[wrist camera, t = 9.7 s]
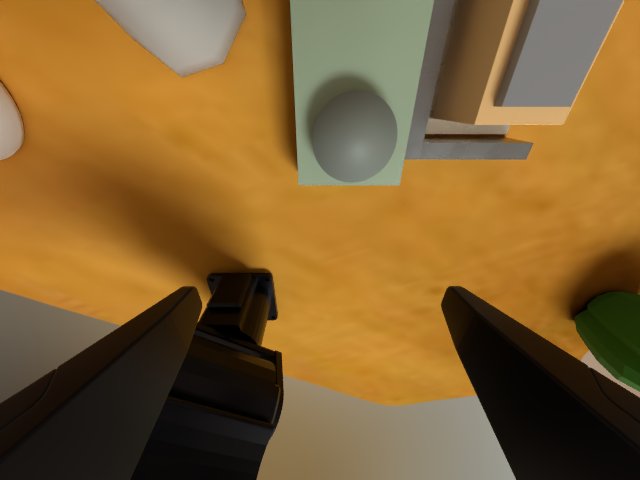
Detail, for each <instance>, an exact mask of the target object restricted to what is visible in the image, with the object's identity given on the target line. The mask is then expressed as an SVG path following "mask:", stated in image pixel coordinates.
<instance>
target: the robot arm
mask: <svg viewBox="0 0 640 480" xmlns="http://www.w3.org/2000/svg"><path fill="white" fill-rule="evenodd" d="M212 278H213V279H212ZM266 278H269V279H266ZM207 282H208V285H209V288H210V291H211V294H212V296H211V298H210V300H209V301H208V303H207V307H206V309H205V311H204V313H203V314H202V316H201V318H200V320H199V322H198V319H199V316H200V313H201V310H202V301H201V299H200V296H199V293H198V291H197V288H196V287H193V286H184V287H181V288H180V289H178V290H176V291H175V292H173V293H172V294H170V295H169V296H167V297H166V298H164V299H162V300H161V301H159V302H158V303H156V304H155V305H153V306H152V307H150V308H148V309H147V310H145V311H144V312H142V313H141V314H139V315H138V316H136V317H135V318H133V319H131V320H130V321H128V322H127V323H125V324H124V325H122V326H121V327H119V328H117V329H116V330H114V331H113V332H111V333H110V334H108V335H107V336H105V337H104V338H102V339H100V340H99V341H97V342H96V343H94V344H93V345H91V346H89V347H88V348H86V349H85V350H83V351H82V352H80V353H79V354H77V355H76V356H74V357H73V358H71V359H69V360H68V361H66V362H65V363H63V364H61V365H60V366H59V367H58V368H57V369H54V370H52V371H51V372H49V373H48V374H46V375H44V376H43V377H41V378H40V379H38V380H37V381H35V382H34V383H32V384H30V385H29V386H27V387H25V388H24V389H22V390H21V391H19V392H18V393H16V394H14V395H13V396H11V397H10V398H8V399H6V400H5V401H3V402H1V403H0V480H256V479H257V475H258V471H259V467H260V464H261V461H262V458H263V455H264V452H265V449H266V446H267V444H268V441H269V440H270V438H271V437H272V435H273V433H274V431H275V429H276V426H277V424H278V421H279V418H280V414H281V410H282V405H283V396H284V393H283V392H284V391H283V372H282V353H281V352H278V351H273V350H270V349H267V348H265V347H262V346H261V344H262V340H263V336H264V331H265V327H266V323H267V320H276V319H277V316H278V312H277V304H276V297H275V290H274V282H273V276H272V275H271V274H269V273H211V274H209V275H208V277H207ZM441 307H442V311H443V314H444V317H445V320H446V323H447V326H448V328H449V331H450V334H451V337H452V340H453V343H454V346H455V348H456V351H457V353H458V355H459V357H460V360H461V362H462V364H463V366H464V368H465V370H466V373H467V375H468V377H469V379H470V381H471V383H472V385H473V388H474V390H475V392H476V394H477V396H478V398H479V401H480V403H481V405H482V407H483V409H484V411H485V413H486V416H487V418H488V420H489V422H490V424H491V426H492V428H493V431H494V433H495V435H496V437H497V439H498V441H499V444H500V446H501V448H502V450H503V452H504V454H505V456H506V459H507V461H508V463H509V465H510V467H511V469H512V472H513V474H514V476H515V478H516V480H640V398H639V397H638V396H636V395H635V394H633V393H631V392H630V391H628V390H626V389H625V388H623V387H621V386H620V385H618V384H617V383H615V382H613V381H611V380H610V379H608V378H607V377H605V376H604V375H602V374H600V373H599V372H597V371H596V370H594V369H592V368H589V367H588V366H587V365H586V364H584V363H583V362H581V361H580V360H578V359H576V358H575V357H573V356H572V355H570V354H568V353H567V352H565V351H564V350H562V349H560V348H559V347H557V346H556V345H554V344H552V343H551V342H549V341H548V340H546V339H544V338H543V337H541V336H540V335H538V334H537V333H535V332H533V331H532V330H530V329H529V328H527V327H525V326H524V325H522V324H521V323H519V322H517V321H516V320H514V319H513V318H511V317H509V316H508V315H506V314H505V313H503V312H501V311H500V310H498V309H497V308H495V307H493V306H492V305H490V304H489V303H487V302H485V301H484V300H482V299H481V298H479V297H477V296H476V295H474V294H473V293H471V292H469V291H468V290H466V289H465V288H463V287H461V286H449V287H448V288H447V290H446V292H445V295H444V297H443V300H442V303H441Z"/></svg>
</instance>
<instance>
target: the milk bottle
mask: <svg viewBox="0 0 640 480" xmlns="http://www.w3.org/2000/svg"><path fill="white" fill-rule="evenodd" d="M24 133H25V132H24V126H23V121H22V118H21V115H20V112H19V110H18V108H17V106H16V104H15V102H14V100H13V98H12V97H11V95H10V94H9V93H8V91H7V90H6V88H5V87H4V85H3V84H2V83H1V82H0V160H3V159H6V158H8V157H10V156H12V155H13V154H14V153H15V152H16V151H17V150H18V149H20V147H21V145H22V143H23V141H24Z"/></svg>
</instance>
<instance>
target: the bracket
mask: <svg viewBox="0 0 640 480" xmlns="http://www.w3.org/2000/svg"><path fill="white" fill-rule="evenodd" d="M458 2H459V0H434V4H433V9H432V14H431V20H430V25H429V30H428V36H427V41H426V46H425V52H424V57H423V62H422V68H421V73H420V78H419V84H418V89H417V94H416V100H415V105H414V110H413V116H412V121H411V126H410V132H409V137H408V142H407V148H406V153H405V158H404V159H526V158H527V156H528V154H529V152H530V150H531V147H532V145H533V143H530V142H525V141H520V140H515V139H510V138H463V137H425V134H507V132H508V129H509V127H510V125H472V124H466V123H459V122H453V121H447V120H440V119H434V118H432V117H433V113H434V109H435V104H436V100H437V95H438V91H439V86H440V82H441V78H442V73H443V69H444V64H445V60H446V56H447V51H448V47H449V42H450V38H451V33H452V29H453V25H454V20H455V16H456V11H457V7H458Z"/></svg>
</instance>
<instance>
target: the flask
mask: <svg viewBox="0 0 640 480" xmlns="http://www.w3.org/2000/svg"><path fill="white" fill-rule="evenodd" d="M95 1H96V2H97V3H98V4H99V5H100V6H101V7H102V8H103V9H104V10H105V11H106V12H107V13H108V14H109V15H110V16H111V17H112V18H113V19H114V20H115V21H116V22H117V23H118V24H119V25H120V26H121V27H122V28H123V29H124V31H125V32H126V33H127V34H129V35H130V36H131V37H132V38H133V39H134V40H135V41H136V42H137V43H139V44H140V45H141V46H143V47H144V48H145V49H146V50H148V51H149V52H150V53H151V54H153V55H154V56H155V57H157V58H158V59H159V60H160V61H162V62H163V63H164V64H166V65H167V66H168V67H169V68H171V69H172V70H173V71H174V72H176V73H177V74H178V75H180V76H181V77H184V76H187V75H190V74H193V73H196V72H199V71H202V70H205V69H208V68H211V67H214V66H217V65H220V64H223V63H224V60H225V58H226V56H227V54H228V52H229V50H230V48H231V45H232V43H233V41H234V39H235V37H236V35H237V33H238V30H239V28H240V26H241V24H242V22H243V20H244V18H245V15H246V12H245V9H244V6H243V3H242V0H95Z"/></svg>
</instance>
